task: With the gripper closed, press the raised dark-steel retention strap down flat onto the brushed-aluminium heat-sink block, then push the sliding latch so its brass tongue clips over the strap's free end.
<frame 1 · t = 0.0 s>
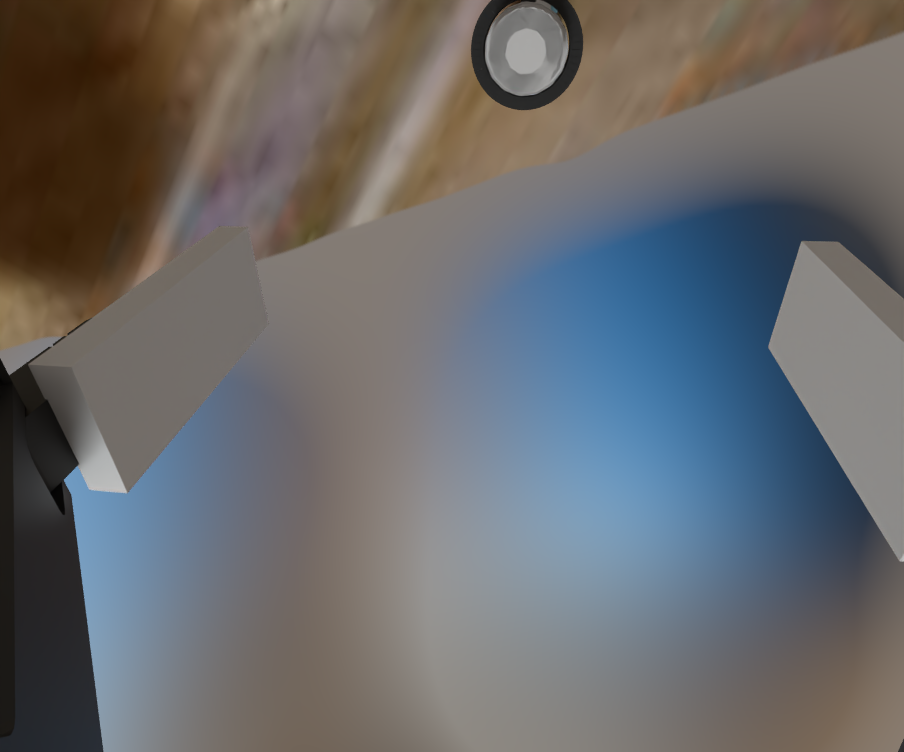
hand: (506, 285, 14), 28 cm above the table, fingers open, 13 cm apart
push button: (534, 24, 35), on the table
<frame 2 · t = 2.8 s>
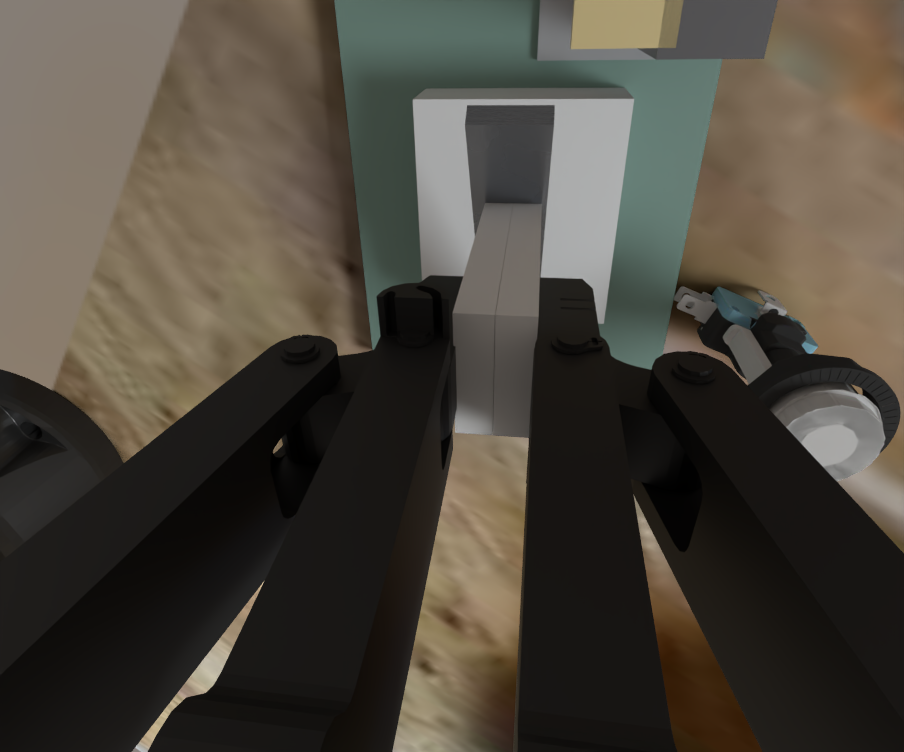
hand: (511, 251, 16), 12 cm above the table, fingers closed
push button: (734, 310, 29), on the table
strap: (509, 292, 20), point 9 cm above the table, hinge at 34.2°, touching gripper
board: (519, 191, 27), on the table
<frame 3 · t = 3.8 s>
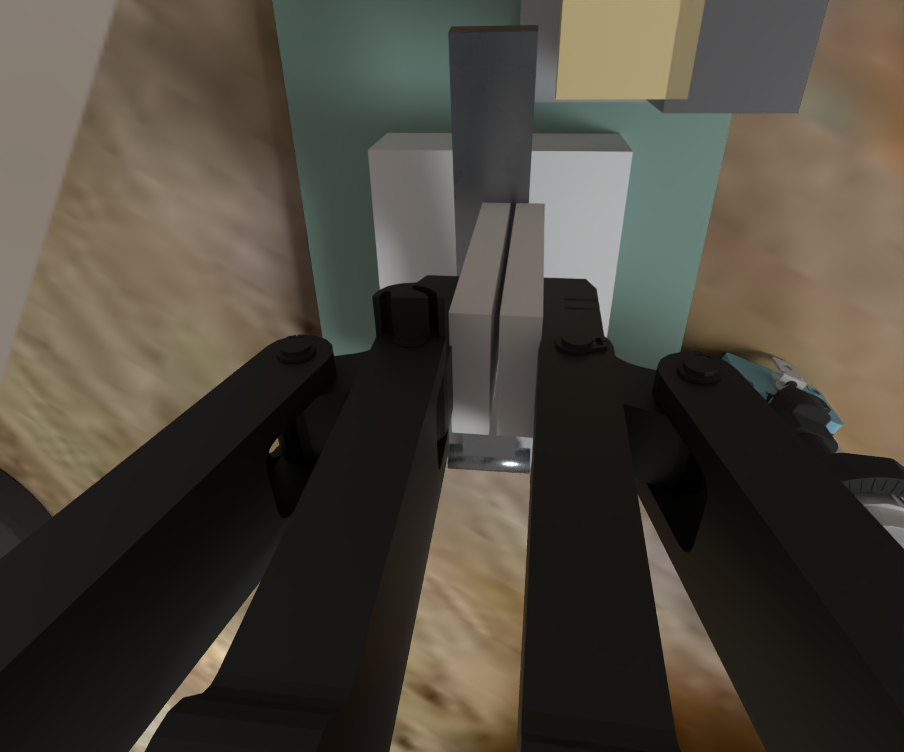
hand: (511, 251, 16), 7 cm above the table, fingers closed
push button: (744, 377, 26), on the table
latch: (661, 34, 15), point 5 cm above the table, slide at 0.0 cm
strap: (490, 309, 18), point 6 cm above the table, hinge at 10.3°, touching gripper
board: (499, 246, 24), on the table
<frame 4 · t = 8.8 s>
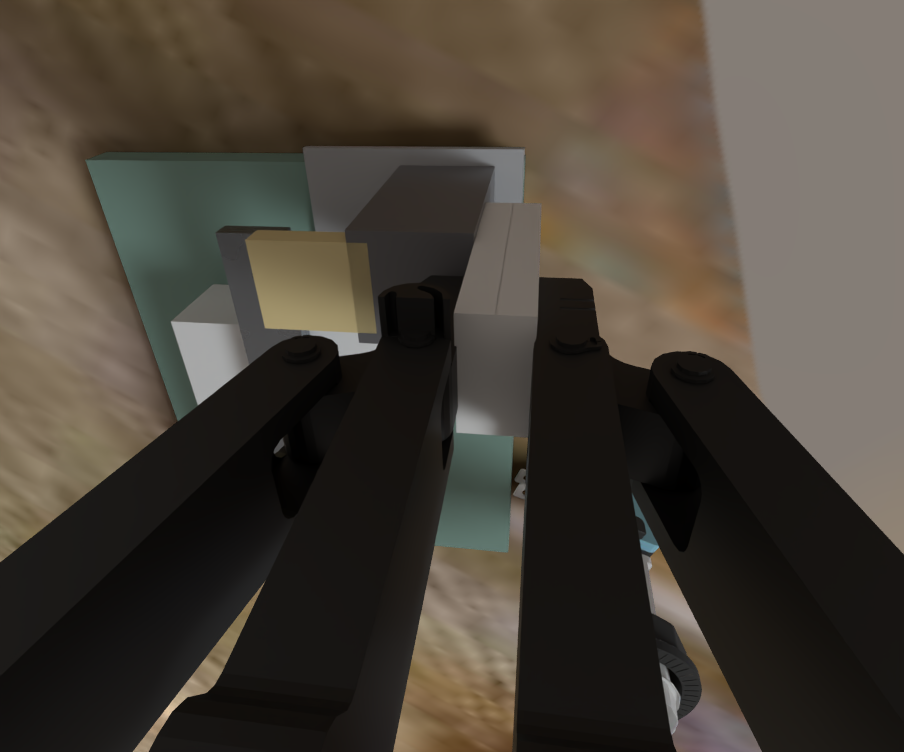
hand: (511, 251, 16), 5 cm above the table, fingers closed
push button: (585, 487, 27), on the table
latch: (389, 245, 17), point 5 cm above the table, slide at 0.4 cm, touching gripper
strap: (299, 439, 21), point 5 cm above the table, hinge at 0.3°
board: (340, 372, 25), on the table
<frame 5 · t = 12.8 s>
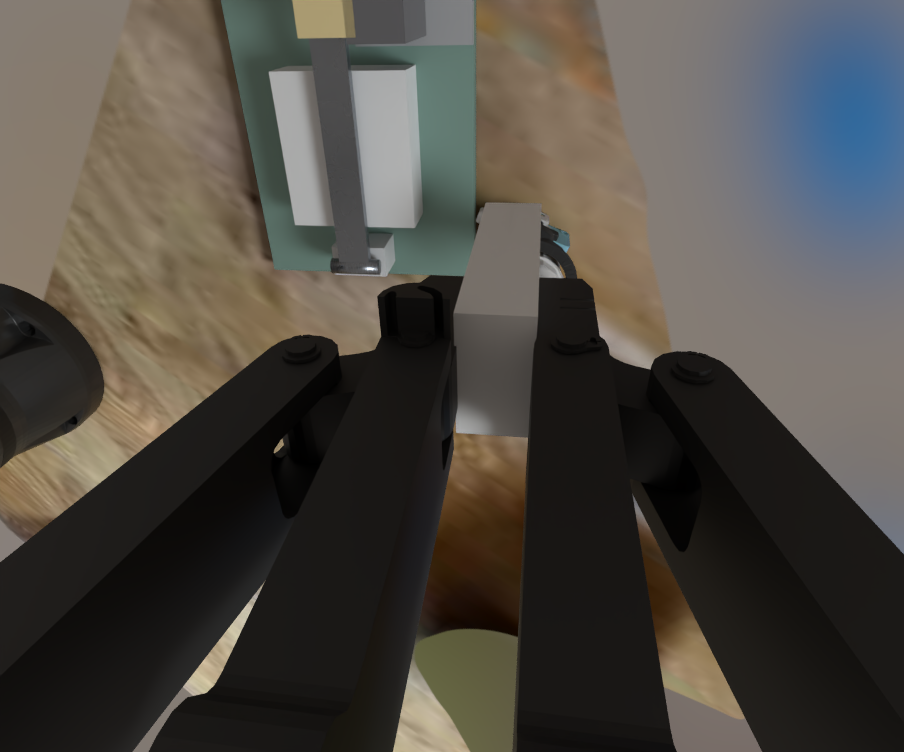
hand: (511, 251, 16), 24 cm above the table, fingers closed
push button: (524, 226, 41), on the table
latch: (364, 7, 31), point 5 cm above the table, slide at 2.2 cm
strap: (342, 152, 35), point 5 cm above the table, hinge at 0.3°
board: (363, 139, 39), on the table
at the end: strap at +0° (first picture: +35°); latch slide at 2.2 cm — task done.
